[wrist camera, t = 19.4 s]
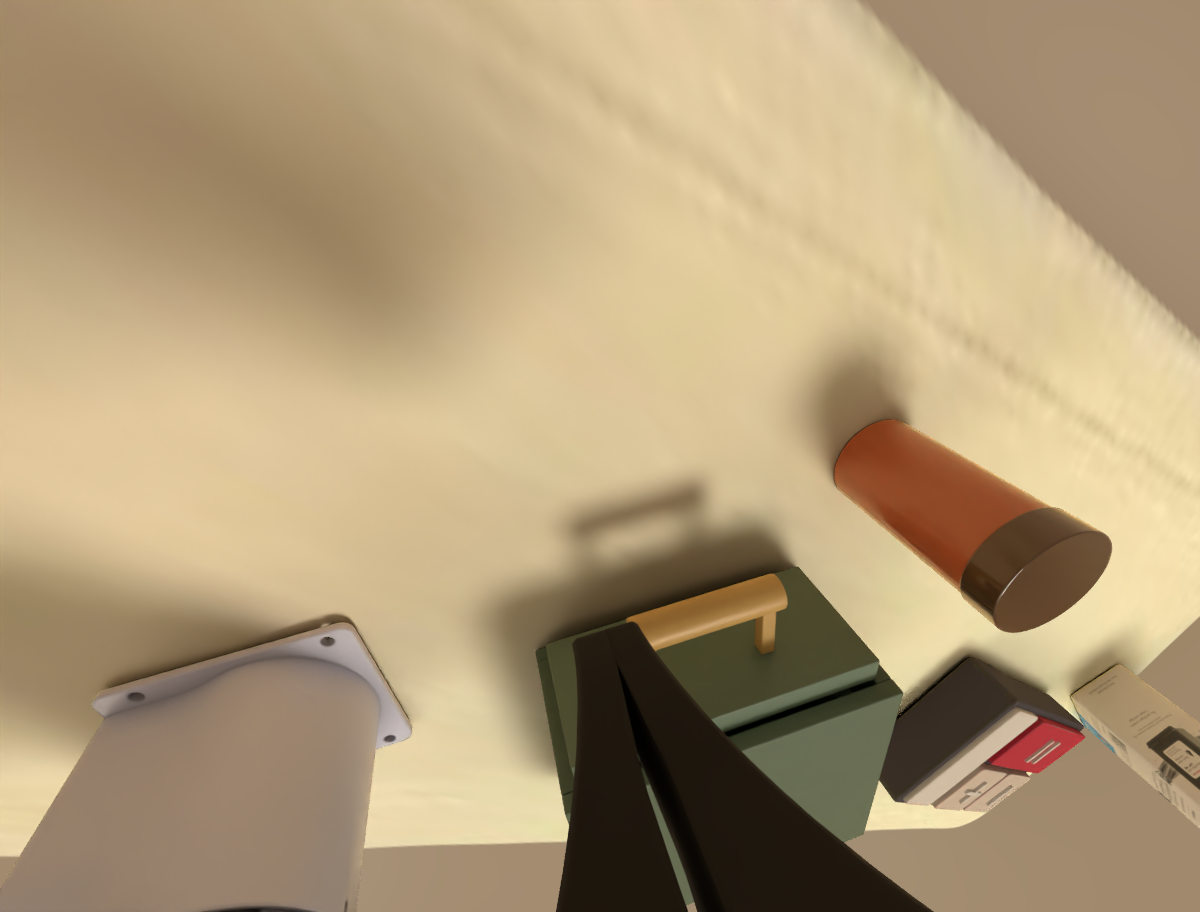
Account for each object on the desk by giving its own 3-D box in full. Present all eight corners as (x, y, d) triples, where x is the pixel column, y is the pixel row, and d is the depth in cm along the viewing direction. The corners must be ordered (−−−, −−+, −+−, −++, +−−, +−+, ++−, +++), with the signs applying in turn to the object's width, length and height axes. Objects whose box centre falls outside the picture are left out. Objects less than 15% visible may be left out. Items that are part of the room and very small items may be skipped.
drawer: (526, 582, 21) (550, 705, 17) (803, 502, 23) (896, 591, 18) (584, 773, 29) (611, 893, 25) (786, 702, 31) (848, 801, 26)
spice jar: (827, 508, 25) (979, 648, 18) (836, 430, 23) (1015, 554, 16) (906, 485, 26) (1084, 611, 18) (923, 406, 23) (1133, 515, 16)
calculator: (986, 819, 43) (901, 814, 35) (943, 767, 46) (857, 753, 39) (1097, 736, 40) (1030, 711, 32) (1041, 687, 43) (969, 654, 35)
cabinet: (535, 649, 25) (565, 814, 18) (797, 568, 27) (904, 692, 20) (577, 781, 31) (609, 936, 25) (785, 708, 33) (864, 834, 27)
